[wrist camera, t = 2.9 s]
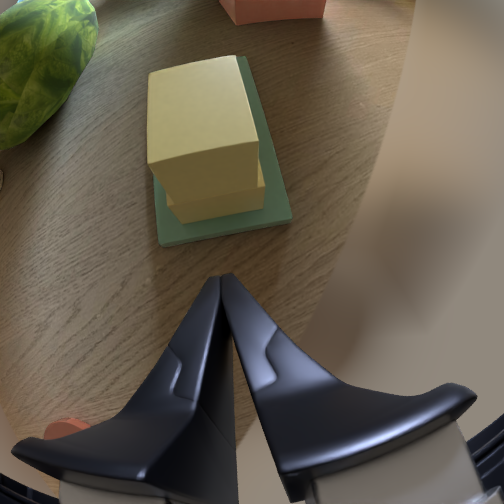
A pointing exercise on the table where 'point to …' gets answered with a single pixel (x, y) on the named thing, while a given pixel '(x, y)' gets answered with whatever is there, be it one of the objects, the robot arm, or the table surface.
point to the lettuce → (41, 61)
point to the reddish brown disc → (64, 428)
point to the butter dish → (236, 222)
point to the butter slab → (201, 130)
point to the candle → (1, 179)
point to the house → (272, 10)
